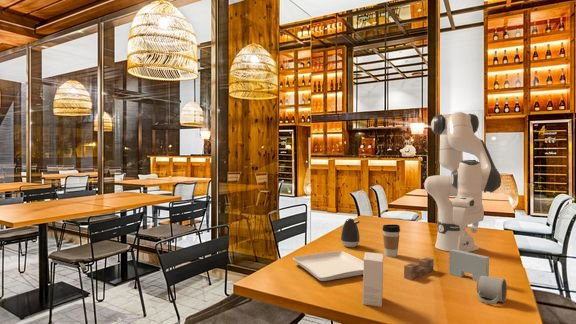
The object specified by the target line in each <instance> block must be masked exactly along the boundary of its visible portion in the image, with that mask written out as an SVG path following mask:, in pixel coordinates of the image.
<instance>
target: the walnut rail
mask: <svg viewBox="0 0 576 324" xmlns="http://www.w3.org/2000/svg"><path fill="white" fill-rule="evenodd" d="M434 264H435V263H434V258H431V257H427V256H425V257H424V258H421V259H419V260H418V263H416V262H414V261H413V262H410V263H408V264H405V265H403V278H404V279H406V280H409V281H412V280H414V279H417V278H419V277H421V276H423V275H426V274H428V273H431V272H433V271H434Z"/></svg>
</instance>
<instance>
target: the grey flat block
mask: <svg viewBox="0 0 576 324" xmlns="http://www.w3.org/2000/svg"><path fill="white" fill-rule="evenodd" d="M448 267H449V268H448V269H449V272H448V273H449V275H453V276H456V277H459V276H460V277H459V278H462V277H464V276H465V273H468V274H471V275H472V281H473V280H475V281H474V282H477V279H478V277H479V276H489V277H490V275H489V274H490V269H489V268H490V256H486V255H482V254H477V253H472V252H464V251H460V250H455V249H452V250H450V251H449V266H448Z"/></svg>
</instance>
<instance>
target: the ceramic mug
mask: <svg viewBox="0 0 576 324" xmlns="http://www.w3.org/2000/svg"><path fill="white" fill-rule="evenodd" d="M475 287H476V294H477V295H478V300H479V302H481V303H482V302H484V303H487V304H486V305H488V304H492V305H495V304H497V302H500V303H505V302H506V299H507V295H508V285H507V280H506V278H501V277H494V276H490V275H489V276H479V277H478V279H477V281H476V286H475ZM483 298H486V299H488V300H486V299H483ZM504 301H505V302H504ZM484 303H483V304H484Z"/></svg>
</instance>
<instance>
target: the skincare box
mask: <svg viewBox="0 0 576 324" xmlns="http://www.w3.org/2000/svg"><path fill="white" fill-rule="evenodd" d="M363 261H364V269H363V277H362V305H365V306H371V307H372V306H373V307H380V308H381V307H383V292H384V291H383V290H384V254H383V253H378V252H368V251H367V252H364V256H363Z"/></svg>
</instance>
